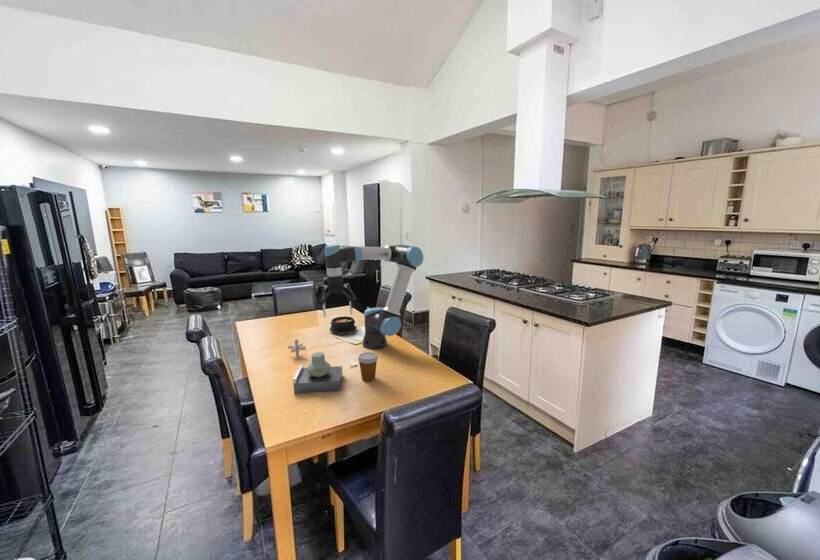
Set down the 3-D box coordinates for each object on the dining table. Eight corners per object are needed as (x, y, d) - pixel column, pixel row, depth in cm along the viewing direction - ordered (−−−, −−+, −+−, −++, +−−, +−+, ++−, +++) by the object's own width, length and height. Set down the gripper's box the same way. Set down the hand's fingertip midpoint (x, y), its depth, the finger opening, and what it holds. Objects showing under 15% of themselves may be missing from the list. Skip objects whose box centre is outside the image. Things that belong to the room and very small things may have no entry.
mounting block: (342, 375, 174) (342, 362, 173) (339, 391, 158) (338, 377, 157) (301, 377, 172) (300, 364, 171) (294, 393, 156) (293, 379, 155)
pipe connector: (301, 360, 193) (300, 343, 191) (284, 358, 195) (283, 342, 193) (309, 353, 203) (308, 337, 201) (294, 352, 205) (292, 335, 203)
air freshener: (306, 379, 159) (305, 359, 157) (307, 372, 167) (305, 352, 165) (331, 376, 162) (330, 356, 160) (330, 369, 170) (329, 349, 168)
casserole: (325, 328, 248) (324, 316, 247) (350, 324, 257) (349, 313, 256) (335, 338, 227) (334, 326, 225) (362, 334, 235) (361, 322, 234)
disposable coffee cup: (370, 385, 164) (369, 361, 162) (354, 380, 169) (353, 357, 167) (382, 377, 172) (381, 354, 170) (367, 372, 177) (366, 350, 175)
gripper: (308, 278, 172) (312, 319, 177) (359, 275, 175) (362, 315, 180) (310, 275, 180) (314, 314, 184) (359, 272, 183) (362, 311, 187)
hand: (338, 315), depth 182 cm, fingers open, 13 cm apart
